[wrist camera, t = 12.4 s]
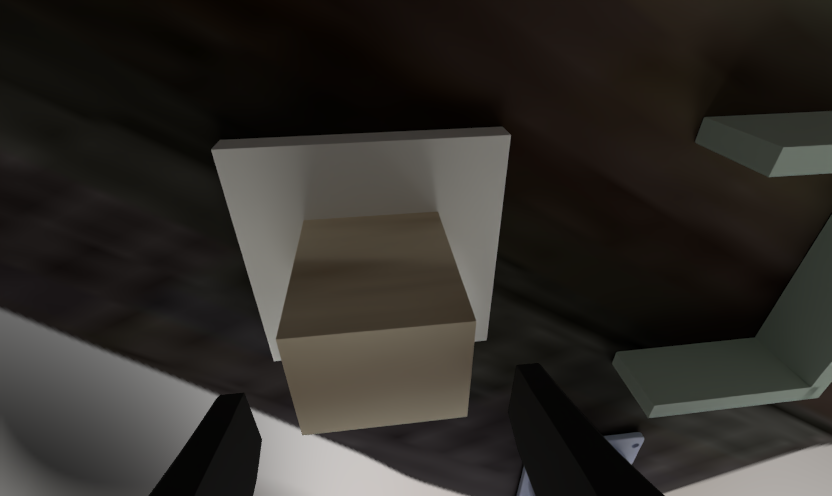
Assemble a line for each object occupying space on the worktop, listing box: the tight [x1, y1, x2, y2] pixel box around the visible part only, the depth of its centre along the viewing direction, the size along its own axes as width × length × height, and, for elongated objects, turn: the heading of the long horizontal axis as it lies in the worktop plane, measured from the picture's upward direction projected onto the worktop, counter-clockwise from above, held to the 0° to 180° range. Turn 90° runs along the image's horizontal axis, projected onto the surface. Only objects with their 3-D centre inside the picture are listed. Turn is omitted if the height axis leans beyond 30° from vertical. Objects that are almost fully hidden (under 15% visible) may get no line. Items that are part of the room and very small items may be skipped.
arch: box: [612, 111, 832, 418], centre depth 18 cm, size 14×10×4 cm
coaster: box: [211, 127, 511, 361], centre depth 17 cm, size 10×10×1 cm
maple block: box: [276, 212, 476, 435], centre depth 14 cm, size 4×5×6 cm
